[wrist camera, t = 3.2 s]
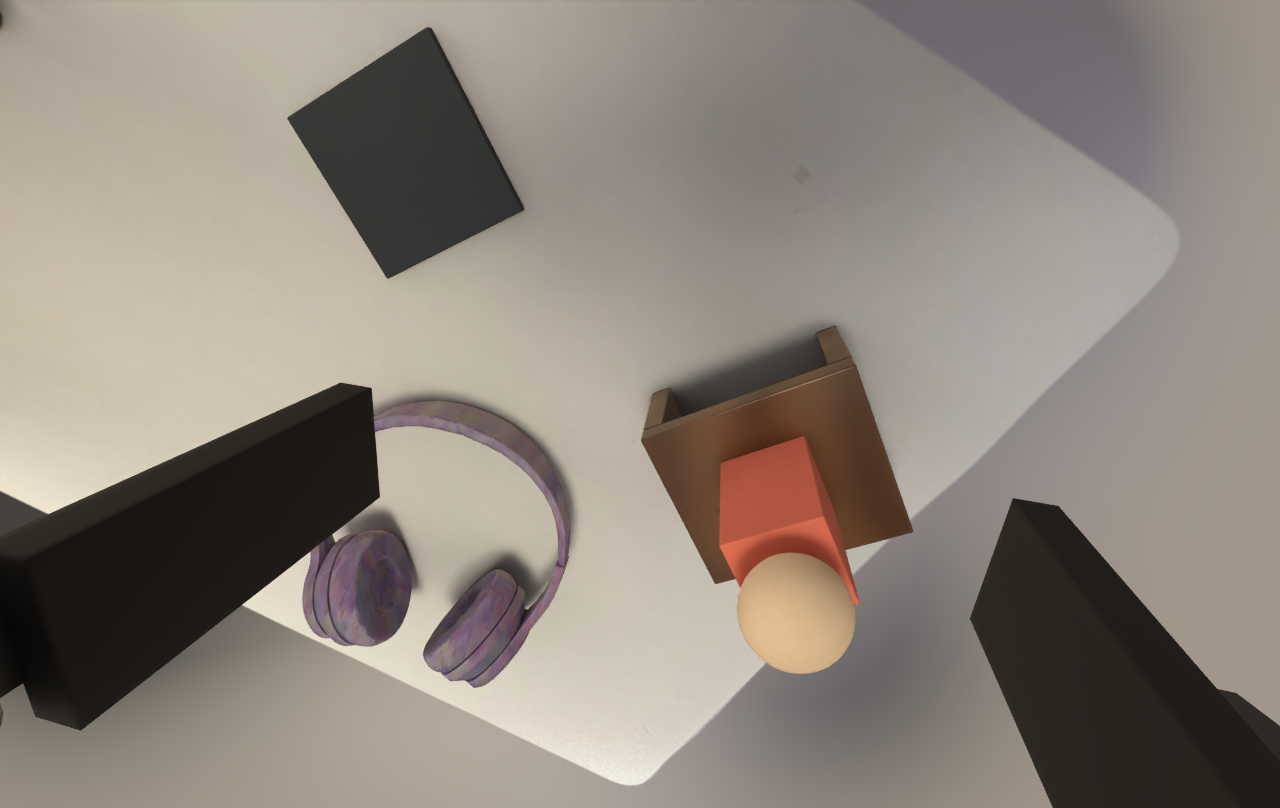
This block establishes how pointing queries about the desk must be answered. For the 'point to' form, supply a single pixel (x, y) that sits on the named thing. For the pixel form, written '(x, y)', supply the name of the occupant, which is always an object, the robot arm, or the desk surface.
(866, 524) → the shelf
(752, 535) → the toy
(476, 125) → the mat
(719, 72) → the desk surface
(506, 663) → the headphones
